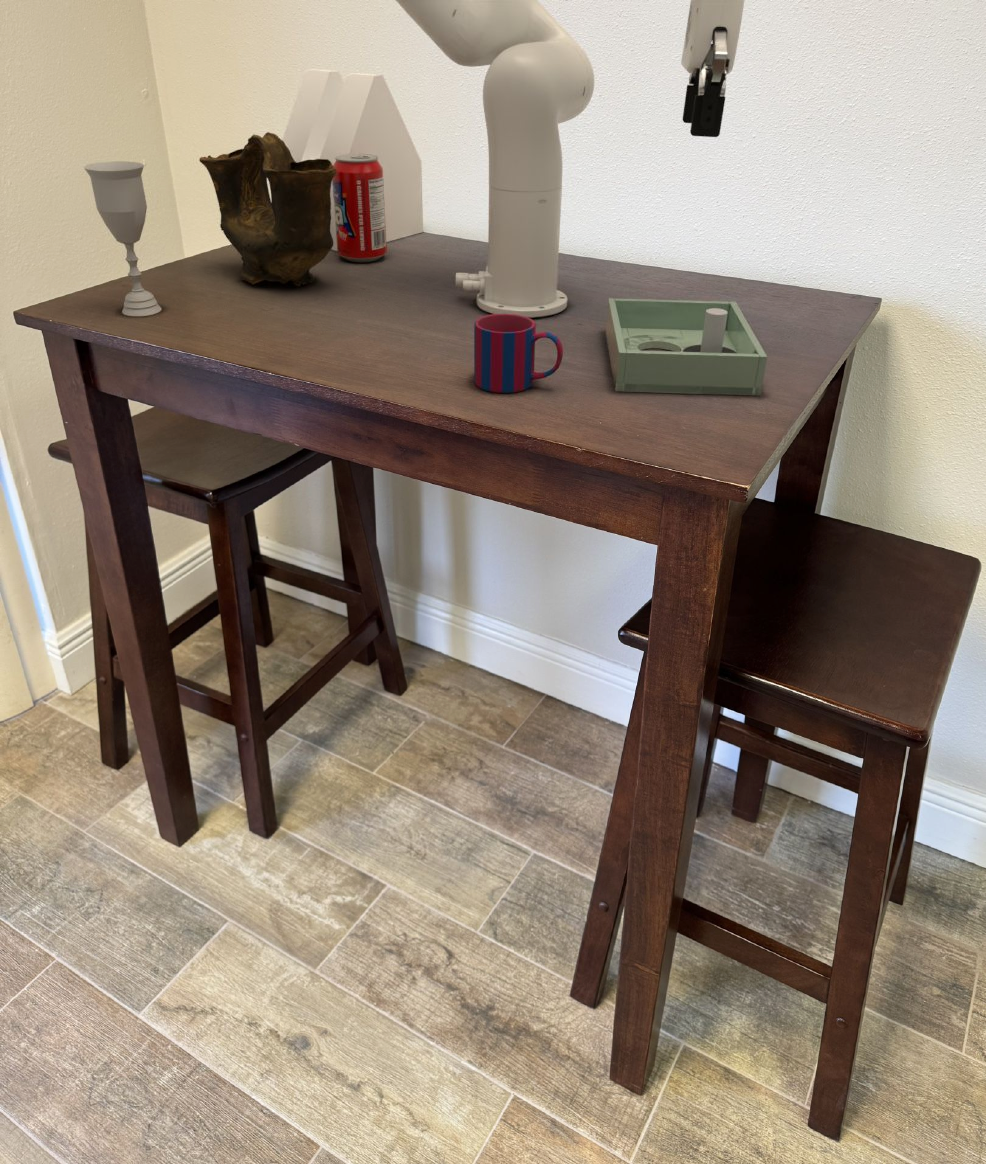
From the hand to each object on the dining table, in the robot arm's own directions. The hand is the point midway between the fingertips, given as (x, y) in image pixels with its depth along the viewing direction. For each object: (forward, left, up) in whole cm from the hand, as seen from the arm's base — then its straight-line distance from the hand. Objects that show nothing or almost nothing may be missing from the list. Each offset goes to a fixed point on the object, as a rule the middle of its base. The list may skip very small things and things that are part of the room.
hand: (699, 129), depth 108 cm
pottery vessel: (-56, +19, -24) cm, 64 cm away
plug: (+2, -15, -23) cm, 27 cm away
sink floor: (-1, -11, -24) cm, 26 cm away
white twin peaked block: (-50, +48, -24) cm, 73 cm away
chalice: (-71, +3, -24) cm, 75 cm away
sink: (-1, -11, -24) cm, 26 cm away
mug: (-20, -20, -24) cm, 37 cm away
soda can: (-46, +33, -24) cm, 62 cm away
